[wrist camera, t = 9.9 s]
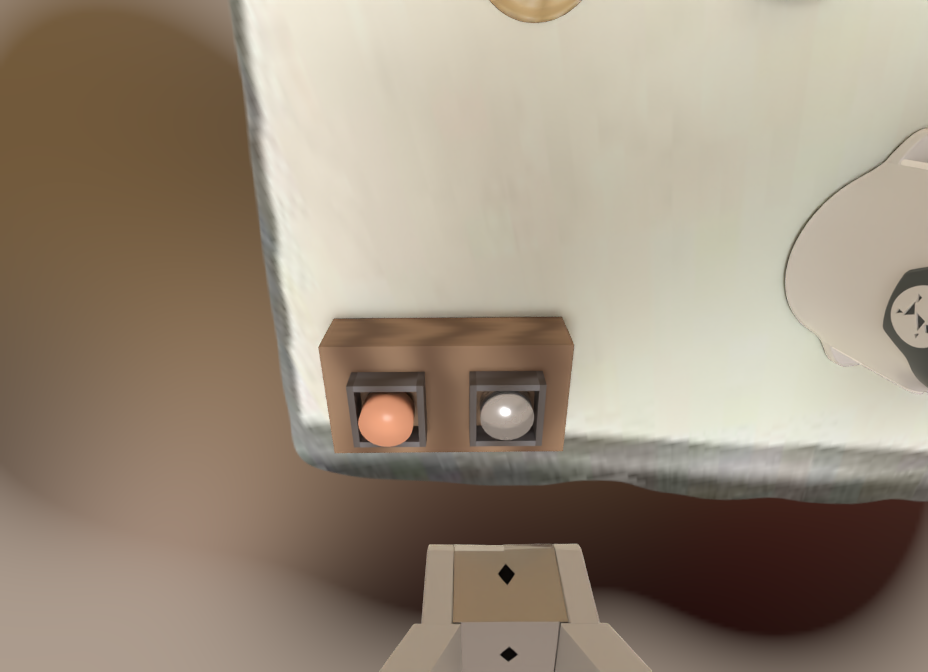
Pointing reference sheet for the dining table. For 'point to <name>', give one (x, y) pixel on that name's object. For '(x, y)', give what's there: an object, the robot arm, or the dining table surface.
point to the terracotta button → (387, 418)
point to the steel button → (506, 414)
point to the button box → (448, 378)
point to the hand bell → (535, 9)
